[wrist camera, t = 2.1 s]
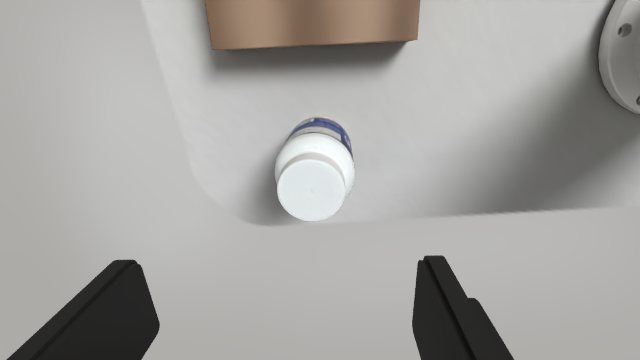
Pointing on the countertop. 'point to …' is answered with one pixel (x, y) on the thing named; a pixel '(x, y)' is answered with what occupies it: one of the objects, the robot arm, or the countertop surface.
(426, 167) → the countertop surface
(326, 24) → the socket block
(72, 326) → the robot arm
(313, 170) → the pill bottle
